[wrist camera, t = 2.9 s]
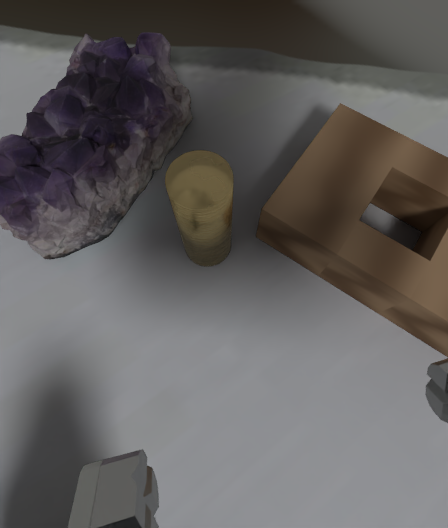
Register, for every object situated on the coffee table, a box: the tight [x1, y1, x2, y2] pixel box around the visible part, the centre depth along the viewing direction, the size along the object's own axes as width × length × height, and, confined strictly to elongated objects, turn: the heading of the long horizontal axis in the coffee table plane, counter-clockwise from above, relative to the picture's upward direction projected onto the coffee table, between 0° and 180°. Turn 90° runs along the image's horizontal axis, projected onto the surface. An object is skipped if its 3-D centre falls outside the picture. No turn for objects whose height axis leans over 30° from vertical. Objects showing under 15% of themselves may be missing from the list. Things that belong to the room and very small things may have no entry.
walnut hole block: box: [256, 103, 448, 357], centre depth 27 cm, size 18×12×5 cm, turn 55°
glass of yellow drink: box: [165, 150, 233, 266], centre depth 24 cm, size 4×4×10 cm
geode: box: [0, 33, 193, 259], centre depth 27 cm, size 20×12×10 cm, turn 156°
